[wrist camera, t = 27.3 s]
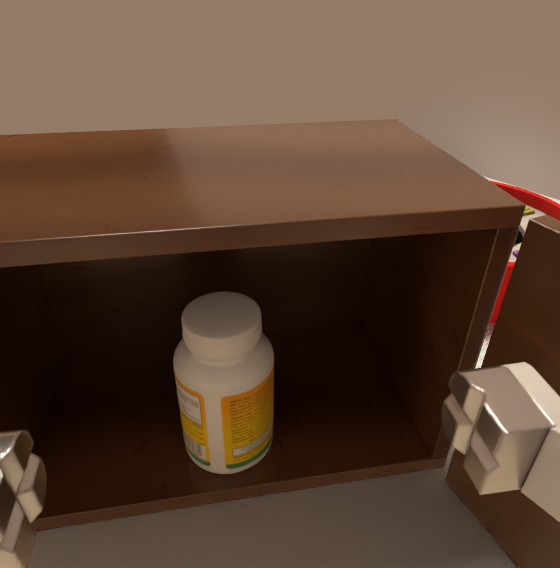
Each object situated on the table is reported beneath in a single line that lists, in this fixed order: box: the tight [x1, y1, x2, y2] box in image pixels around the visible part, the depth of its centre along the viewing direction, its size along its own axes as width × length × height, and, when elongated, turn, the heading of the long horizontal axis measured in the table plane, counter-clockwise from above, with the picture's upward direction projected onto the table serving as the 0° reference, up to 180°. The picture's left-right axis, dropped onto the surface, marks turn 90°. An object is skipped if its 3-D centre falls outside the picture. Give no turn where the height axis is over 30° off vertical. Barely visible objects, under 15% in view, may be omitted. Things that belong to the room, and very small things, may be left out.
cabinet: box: [0, 119, 526, 531], centre depth 28 cm, size 14×25×17 cm, turn 100°
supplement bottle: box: [173, 291, 274, 474], centre depth 26 cm, size 5×5×10 cm
